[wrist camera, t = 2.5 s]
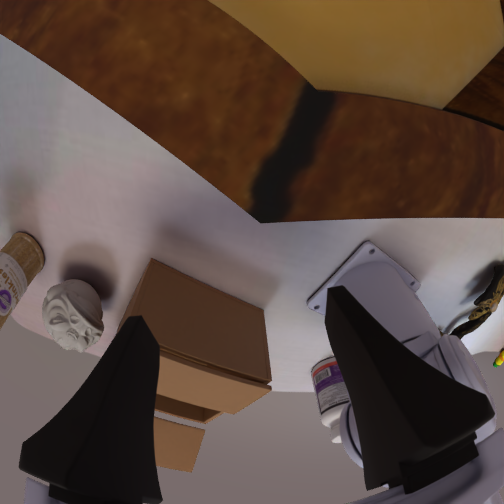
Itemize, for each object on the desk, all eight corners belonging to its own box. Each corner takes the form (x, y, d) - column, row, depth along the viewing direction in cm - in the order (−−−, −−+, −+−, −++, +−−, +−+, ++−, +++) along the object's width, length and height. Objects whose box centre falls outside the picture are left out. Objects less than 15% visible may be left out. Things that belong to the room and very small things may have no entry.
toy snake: (424, 388, 29) (406, 364, 26) (413, 364, 33) (392, 336, 30) (518, 310, 24) (519, 267, 20) (502, 291, 28) (497, 247, 24)
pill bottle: (350, 372, 33) (368, 436, 25) (311, 381, 33) (324, 448, 25) (354, 350, 30) (377, 422, 22) (310, 360, 30) (326, 436, 22)
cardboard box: (207, 365, 30) (205, 431, 23) (117, 330, 26) (97, 397, 19) (263, 309, 25) (273, 390, 18) (151, 257, 21) (122, 339, 14)
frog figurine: (131, 297, 23) (110, 360, 18) (88, 319, 25) (66, 373, 19) (86, 248, 20) (49, 307, 14) (48, 278, 22) (16, 330, 16)
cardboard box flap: (205, 430, 23) (204, 429, 23) (97, 397, 19) (98, 396, 19) (191, 472, 20) (190, 471, 21) (85, 444, 17) (85, 442, 17)
